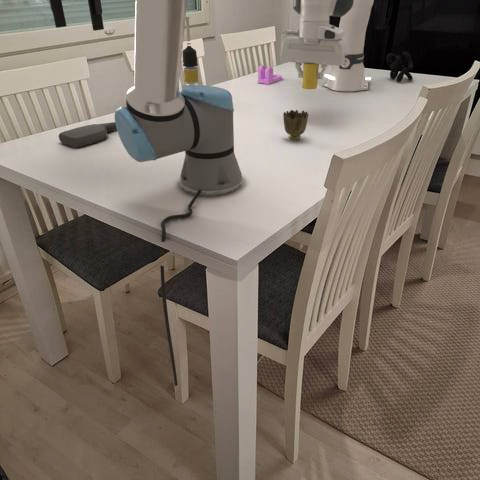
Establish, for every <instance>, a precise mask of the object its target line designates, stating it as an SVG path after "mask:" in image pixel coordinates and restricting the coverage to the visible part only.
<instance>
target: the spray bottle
mask: <svg viewBox="0 0 480 480" xmlns="http://www.w3.org/2000/svg"><path fill="white" fill-rule="evenodd" d="M113 131H117V128H116V124H115V121H112V122H105V123H104V122H103V123H93V124H87V125H82V126H78V127H75V128H71V129H68V130H64V131H61V132H60V133H59V134H58V139H59V141H60V143H61V144H64V145H67V146H70V147H72V148H80V147H85V146H89V145H92V144H95V143H99V142H101V141H103V140H105V139H106V138H107V136H108V133H109V132H113Z"/></svg>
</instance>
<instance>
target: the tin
mask: <svg viewBox="0 0 480 480" xmlns="http://www.w3.org/2000/svg"><path fill="white" fill-rule="evenodd" d="M302 65H303V68H302V71H303V78H302V83H301V87H302V89H305V90H316V89H318V83H319V81H318V80H319V79H317V73H319V68H320V64H309V63H303V64H302Z"/></svg>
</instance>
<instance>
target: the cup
mask: <svg viewBox="0 0 480 480" xmlns="http://www.w3.org/2000/svg"><path fill="white" fill-rule="evenodd" d="M282 116H283V126H284V131H285V133H286V134H287V135H288V138H289V139H288V140H290V141H295V142H296V141H299V140H301V138H302V136H301V135H303V134H304V133H305V132H306V129H307V124H308V119H309V113H308V111H305V110H302V111H301V112H299V110H297V109H296V110H293V109H290V110H289V111H288V110H287V111H284V112H283V115H282Z"/></svg>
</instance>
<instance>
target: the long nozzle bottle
mask: <svg viewBox="0 0 480 480" xmlns="http://www.w3.org/2000/svg"><path fill="white" fill-rule="evenodd" d="M190 19H191V17H190V16H185V32H186V34H185V35H186V37H185V38H186V42H188V43H186V45H187V46H186V47H185V48H184V49H182V66H183V79H184V84H186V85H197V84H198V83H200V82H199V68H198V66H199V64H198V55H197V50H196V49H195V48H193V47H192V46H191V44H192V43H189V42H191V34H190V33H191V32H190Z"/></svg>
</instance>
